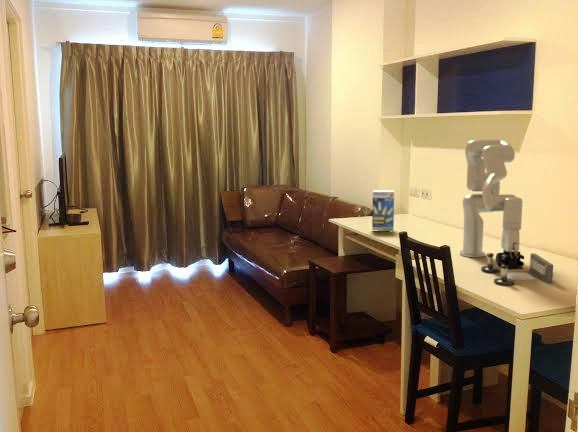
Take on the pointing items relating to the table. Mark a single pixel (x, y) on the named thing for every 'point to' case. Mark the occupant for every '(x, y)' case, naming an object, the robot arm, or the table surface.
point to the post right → (504, 277)
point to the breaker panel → (541, 268)
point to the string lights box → (383, 210)
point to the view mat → (520, 276)
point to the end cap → (504, 259)
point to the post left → (490, 265)
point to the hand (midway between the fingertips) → (509, 263)
